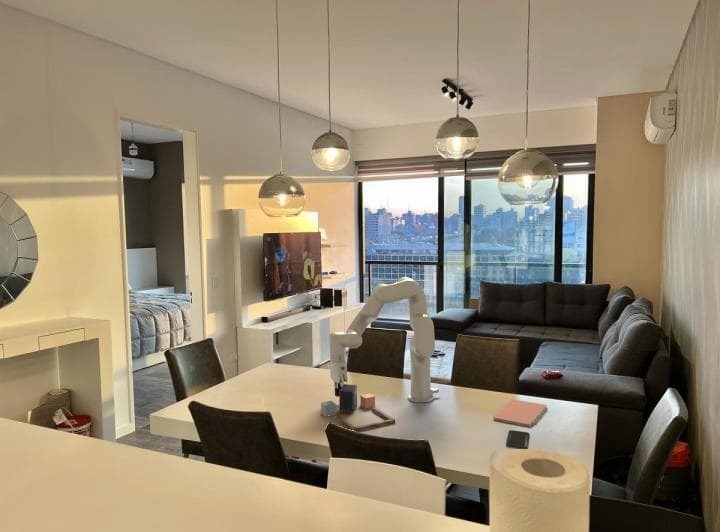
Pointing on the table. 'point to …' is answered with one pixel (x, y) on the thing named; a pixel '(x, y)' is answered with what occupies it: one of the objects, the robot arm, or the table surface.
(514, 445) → the phone
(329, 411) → the slate block
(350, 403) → the small box
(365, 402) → the terracotta block
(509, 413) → the notebook
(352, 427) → the frame
